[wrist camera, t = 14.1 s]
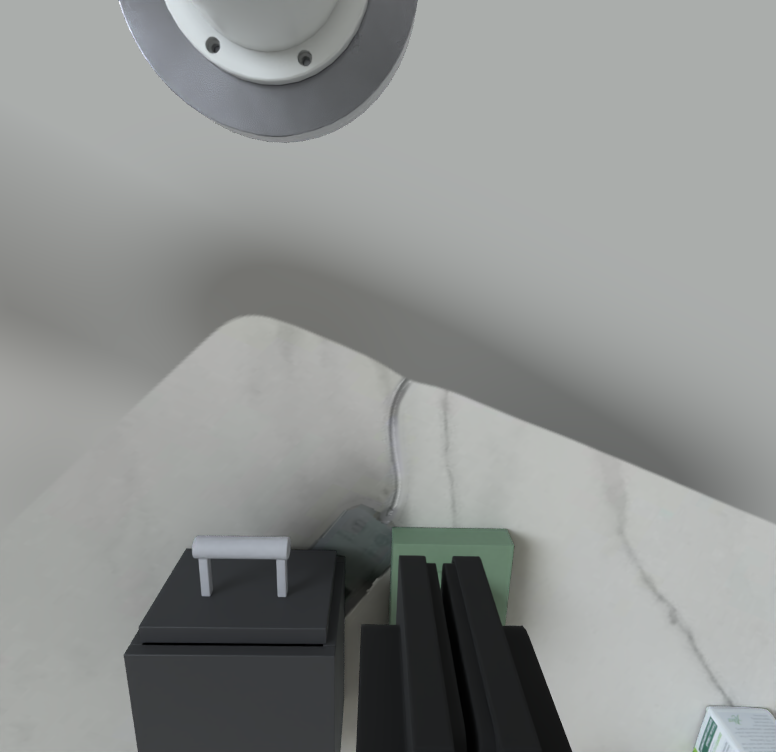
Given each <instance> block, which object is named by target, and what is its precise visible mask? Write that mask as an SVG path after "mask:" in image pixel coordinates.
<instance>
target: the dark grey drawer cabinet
mask: <svg viewBox="0 0 776 752" xmlns="http://www.w3.org/2000/svg"><path fill="white" fill-rule="evenodd" d="M344 628H345V557H337V560H336V571H335V579H334V588H333V596H332V604H331V612H330V620H329V628H328V636H327V643H326V644H323V646H209V645H163V643H141V641H140V633H139V630H138V632H137V634H136V635H135V637H134V639H133V640H132V642H131V644H130V646H129V647H128V649H127V650H126V652H125V654H124V660H125V667H126V673H127V680H128V687H129V694H130V701H131V707H132V714H133V721H134V728H135V734H136V741H137V748H138V752H340V749H341V735H342V721H343V707H344Z"/></svg>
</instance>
